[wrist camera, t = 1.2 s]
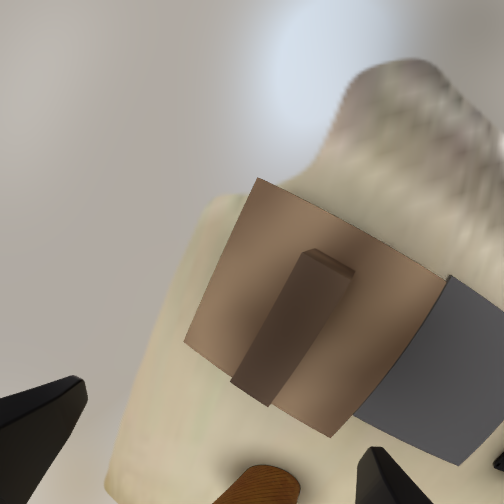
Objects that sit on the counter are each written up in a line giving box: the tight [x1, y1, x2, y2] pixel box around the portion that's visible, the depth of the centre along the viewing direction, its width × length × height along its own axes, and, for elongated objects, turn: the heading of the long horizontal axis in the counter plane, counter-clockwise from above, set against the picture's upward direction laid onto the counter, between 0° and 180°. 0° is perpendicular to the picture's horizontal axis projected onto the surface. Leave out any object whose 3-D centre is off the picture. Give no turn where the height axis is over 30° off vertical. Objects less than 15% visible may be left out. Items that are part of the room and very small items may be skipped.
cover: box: [183, 178, 446, 438], centre depth 16 cm, size 12×12×4 cm
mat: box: [353, 275, 504, 466], centre depth 17 cm, size 13×13×1 cm
